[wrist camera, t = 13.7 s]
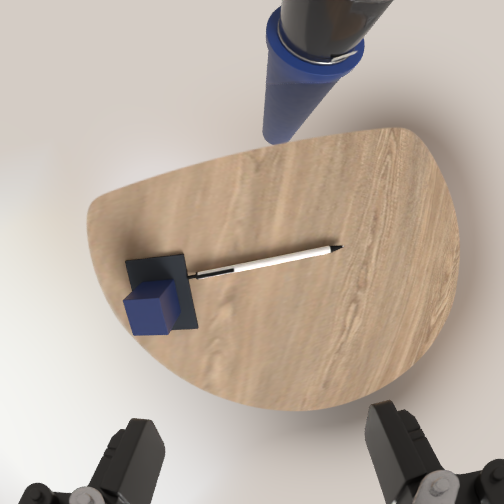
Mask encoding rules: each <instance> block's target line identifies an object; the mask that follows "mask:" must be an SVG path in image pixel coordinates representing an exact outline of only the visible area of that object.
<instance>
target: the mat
mask: <svg viewBox="0 0 504 504" xmlns="http://www.w3.org/2000/svg"><path fill="white" fill-rule="evenodd" d="M125 263H126V268H127V272H128V276H129V280H130V284H131V288H132V291H133V290H134V289H135V288H136V287H137V286H138V285H139V284H141V283H142V282H149V281H160V280H170V279H174V282H175V286H176V291H177V295H178V300H179V304H180V309H181V313H180V315H179V317H178V318H177V320H176V322H175V324H174V326H173V327H172V329H171V330H181V329H198V323H197V318H196V314H195V309H194V304H193V299H192V295H191V290H190V285H189V279H187V276H188V274H187V269H186V264H185V258H184V254H179V255H170V256H162V257H153V258H145V259H137V260H128V261H125Z"/></svg>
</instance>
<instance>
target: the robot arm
mask: <svg viewBox="0 0 504 504" xmlns="http://www.w3.org/2000/svg"><path fill="white" fill-rule="evenodd" d="M392 1H393V0H282V5H281V11H280V18H279V21H278V27H277V33H278V37H279V40H280V42H281V44H282V45H283V47H284V48H285V49H286V50H287V51H288V52H289V53H290V54H291V55H293V56H294V57H296V58H297V59H299V60H301V61H303V62H306V63H309V64H312V65H318V66H331V65H336V64H339V63H341V62H343V61H345V60H346V59H347V58H348V57H349V56H350V55H353V54H355V53H356V52H357V51H355V52H353V51H354V50H355V47H356V46H357V45H358V44H359V43H360V41H361V40H362V39H363V37H364V36H365V35H366V34H367V32H368V31H369V30H370V29H371V27H372V26H373V24H375V22H376V21H377V20H378V19H379V17H380V16H381V15H382V14H383V12H384V11H385V10H386V9H387V8H388V6H389V5H390V4H391V2H392ZM365 441H366V444H367V447H368V450H369V453H370V456H371V459H372V462H373V465H374V468H375V471H376V474H377V477H378V480H379V483H380V486H381V489H382V492H383V495H384V498H385V501H386V504H504V459H496V460H493V461H491V462H489V463H488V464H487V465H486V466H485V467H484V468H483V470H481V471H476V472H471V473H466V474H454V473H452V472H451V471H447V470H445V469H444V468H443V467H442V466H441V465H440V463H439V461H438V459H437V457H436V455H435V453H434V451H433V449H432V447H431V445H430V444H429V442H428V440H427V438H426V437H425V434H424V433H423V431H422V429H420V425H419V424H418V422H417V420H416V418H415V417H414V416H413V415H411V414H410V413H409V412H408V411H406V410H405V409H404V410H401V411H397V410H396V408H395V406H394V404H393V402H392V401H391V400H387V401H383V402H379V403H376V404H371V405H370V407H369V412H368V417H367V422H366V427H365ZM107 447H108V448H107V449H106V450H105V452H104V456H103V457H102V458H101V460H100V462H99V464H98V466H97V468H96V471H95V473H94V475H93V477H92V479H91V481H90V483H89V485H88V486H87V487H80V488H78V489H76V490H74V491H73V492H72V493H60V492H52V491H51V490H50V489H49V488H48V487H47V486H46V485H44V484H42V483H33V484H31V485H29V486H28V487H27V488H26V490H25V492H24V494H23V495H22V497H21V499H20V501H19V503H18V504H150V503H151V500H152V497H153V493H154V490H155V487H156V483H157V480H158V477H159V473H160V470H161V467H162V463H163V460H164V457H165V446H164V443H163V441H162V439H161V437H160V435H159V433H158V431H157V429H156V427H155V425H154V423H153V422H152V420H147V419H137V418H132V419H131V420H130V421H129V423H128V425H127V427H126V429H120V430H119V431H118V432H117V433H116V434H115V435H114V436H113V437H112V438H111V440H110V442H109V444H108V446H107Z"/></svg>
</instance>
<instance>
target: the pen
mask: <svg viewBox="0 0 504 504" xmlns="http://www.w3.org/2000/svg"><path fill="white" fill-rule="evenodd" d="M342 247H344V246H325V247H320V248H315V249H310V250H305V251H300V252H295V253H290V254H286V255H281V256H276V257H271V258H266V259H261V260H256V261H251V262H246V263H241V264H236V265H231V266H226V267H221V268H216V269H211V270H206V271H201V272H196V275H191V276H187V279H192V278H196V279H203V278H208V277H213V276H218V275H223V274H229V273H234V272H239V271H244V270H249V269H254V268H259V267H264V266H269V265H274V264H279V263H284V262H289V261H293V260H298V259H303V258H308V257H313V256H318V255H322V254H327V253H331V252H333V251H336V250H338V249H340V248H342Z"/></svg>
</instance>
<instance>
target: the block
mask: <svg viewBox="0 0 504 504" xmlns="http://www.w3.org/2000/svg"><path fill="white" fill-rule="evenodd" d="M123 303H124V306H125V310H126V313H127V316H128V320H129V323H130V326H131V329H132V333H133V335H134V336H138V335H168V334H169V333H170V331H171V329H172V327H173V326H174V324H175V322H176V320H177V318H178V317H179V315H180V313H181V309H180V304H179V300H178V295H177V291H176V286H175V282H174V279H170V280H160V281H149V282H142V283H141V284H139V285H138V286H137V287H136V288H135V289H134V290H133V291H132V292H131V293H130V294H129V295H128V296H127V297H126V298H125V299H124V300H123Z"/></svg>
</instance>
